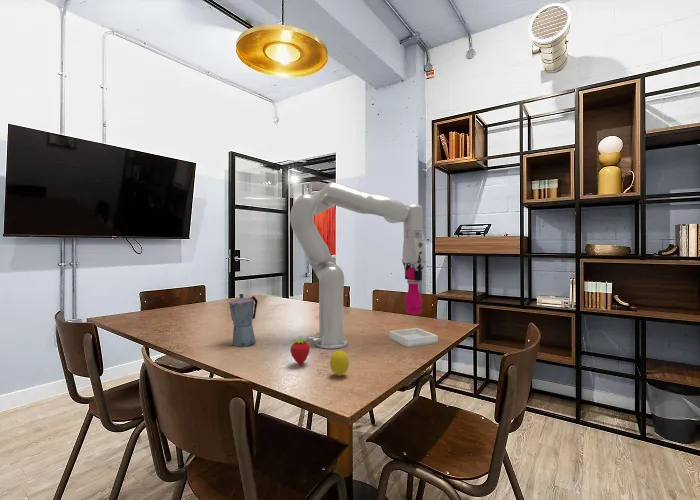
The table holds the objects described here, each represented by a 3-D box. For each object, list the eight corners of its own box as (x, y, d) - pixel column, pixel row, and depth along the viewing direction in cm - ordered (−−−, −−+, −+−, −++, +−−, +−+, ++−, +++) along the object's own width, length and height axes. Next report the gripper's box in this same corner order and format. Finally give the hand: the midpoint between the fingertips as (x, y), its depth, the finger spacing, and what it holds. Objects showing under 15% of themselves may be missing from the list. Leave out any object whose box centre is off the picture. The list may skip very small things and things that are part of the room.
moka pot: (220, 347, 136) (220, 295, 136) (246, 337, 150) (246, 290, 150) (241, 350, 132) (240, 296, 132) (265, 339, 147) (265, 291, 146)
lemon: (330, 373, 109) (329, 347, 109) (348, 372, 109) (347, 346, 109) (330, 380, 103) (330, 352, 103) (349, 379, 104) (349, 352, 104)
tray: (407, 347, 135) (407, 339, 135) (389, 338, 148) (389, 331, 148) (437, 342, 141) (437, 335, 141) (416, 334, 154) (417, 327, 154)
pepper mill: (422, 314, 140) (422, 264, 140) (404, 314, 142) (403, 264, 141) (422, 311, 147) (422, 263, 147) (404, 310, 149) (404, 263, 148)
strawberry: (286, 368, 113) (286, 337, 113) (297, 360, 120) (297, 331, 120) (303, 370, 111) (302, 338, 111) (313, 362, 118) (313, 333, 118)
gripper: (433, 234, 138) (434, 281, 138) (408, 235, 153) (409, 277, 154) (417, 234, 134) (418, 282, 135) (393, 235, 150) (394, 278, 151)
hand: (413, 279), depth 144 cm, fingers closed on pepper mill, 5 cm apart
